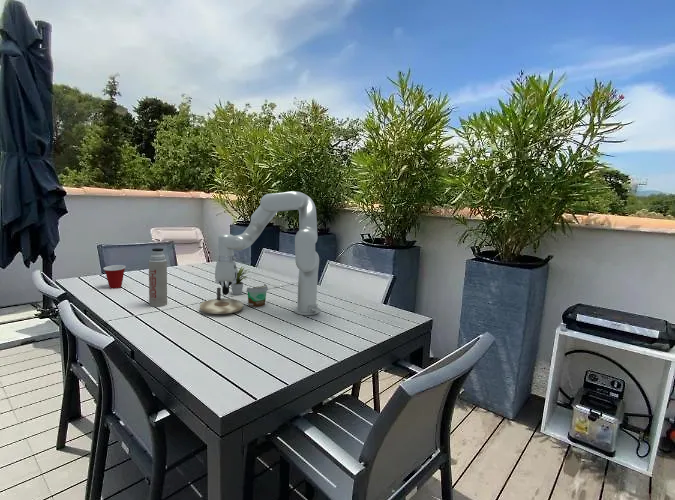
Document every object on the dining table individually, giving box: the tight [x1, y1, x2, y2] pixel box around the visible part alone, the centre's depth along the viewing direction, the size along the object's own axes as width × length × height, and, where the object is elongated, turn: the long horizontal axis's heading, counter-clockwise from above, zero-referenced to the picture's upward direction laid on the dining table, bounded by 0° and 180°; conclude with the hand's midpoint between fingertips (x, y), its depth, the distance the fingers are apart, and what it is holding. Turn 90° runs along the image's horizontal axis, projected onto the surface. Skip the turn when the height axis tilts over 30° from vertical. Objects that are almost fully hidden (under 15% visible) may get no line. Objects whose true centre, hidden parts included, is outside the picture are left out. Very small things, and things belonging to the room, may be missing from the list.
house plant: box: [230, 266, 251, 296], centre depth 204 cm, size 14×14×16 cm
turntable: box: [199, 287, 244, 315], centre depth 176 cm, size 20×20×9 cm
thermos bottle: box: [148, 247, 168, 308], centre depth 178 cm, size 8×8×28 cm
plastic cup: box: [102, 264, 126, 290], centre depth 204 cm, size 11×11×12 cm
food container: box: [246, 283, 269, 308], centre depth 186 cm, size 12×6×10 cm, turn 143°
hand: (225, 294), depth 184 cm, fingers closed
